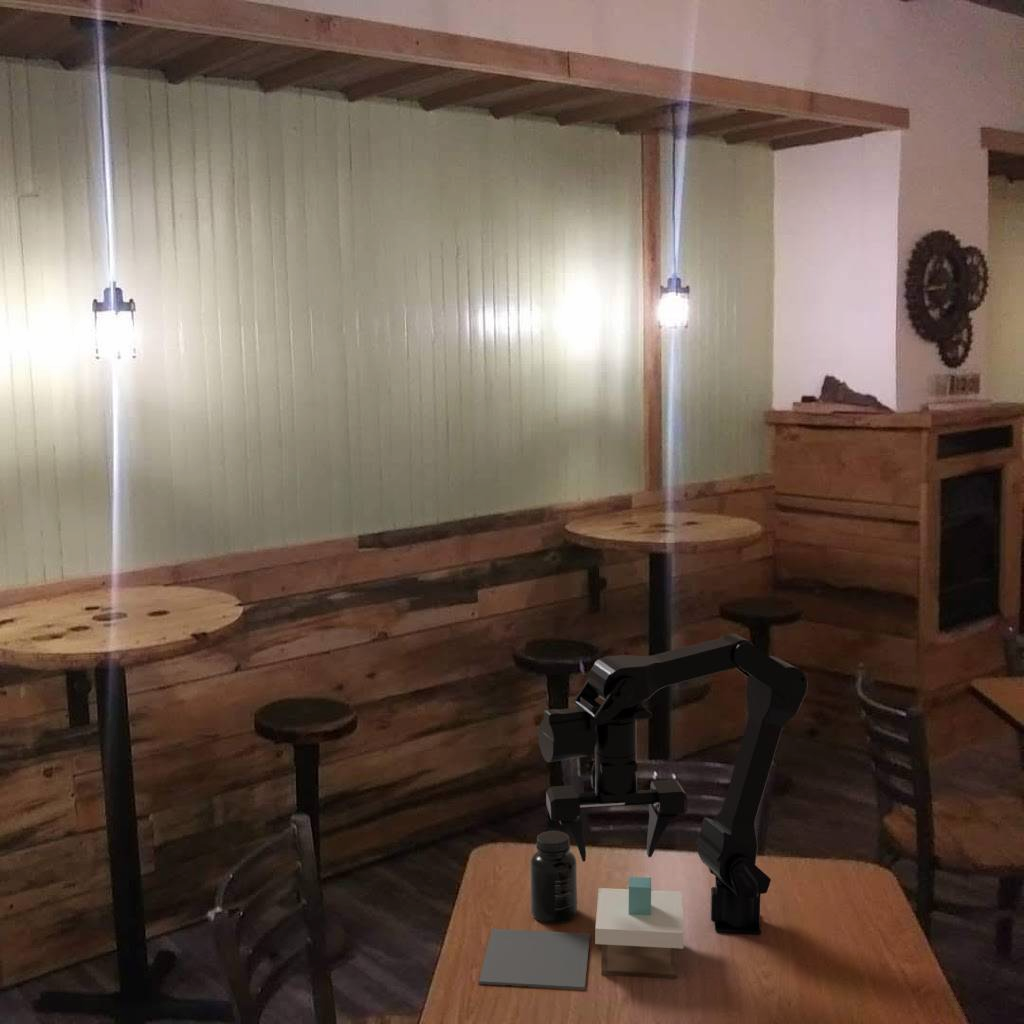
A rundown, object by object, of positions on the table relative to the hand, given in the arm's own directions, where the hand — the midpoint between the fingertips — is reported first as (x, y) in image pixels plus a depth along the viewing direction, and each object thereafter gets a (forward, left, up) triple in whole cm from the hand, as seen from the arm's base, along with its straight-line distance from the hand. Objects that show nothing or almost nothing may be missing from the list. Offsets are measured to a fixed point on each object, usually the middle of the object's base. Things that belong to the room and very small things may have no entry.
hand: (616, 858), depth 170 cm
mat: (+11, +5, -13) cm, 18 cm away
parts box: (-3, +3, -13) cm, 14 cm away
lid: (-3, +3, -8) cm, 9 cm away
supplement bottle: (+9, -8, -13) cm, 18 cm away
